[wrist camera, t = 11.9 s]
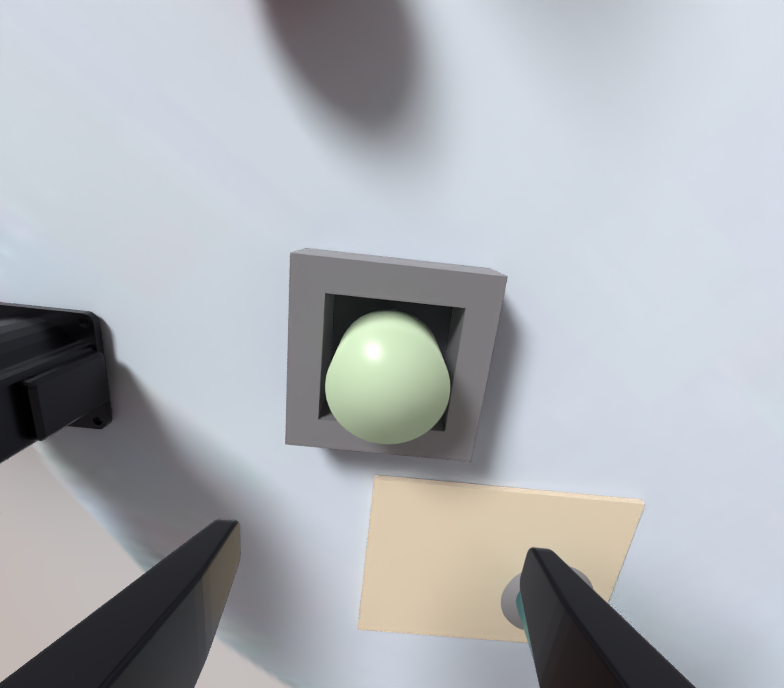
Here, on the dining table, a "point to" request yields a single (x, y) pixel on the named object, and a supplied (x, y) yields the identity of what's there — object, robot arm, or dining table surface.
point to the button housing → (400, 283)
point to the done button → (387, 378)
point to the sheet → (479, 552)
